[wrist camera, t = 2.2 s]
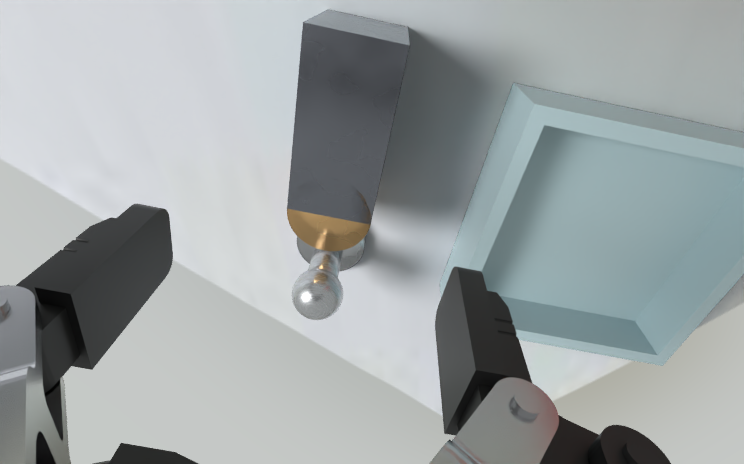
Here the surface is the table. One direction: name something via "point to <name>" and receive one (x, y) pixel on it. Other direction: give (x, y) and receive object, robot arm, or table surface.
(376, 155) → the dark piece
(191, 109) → the table surface
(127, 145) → the table surface
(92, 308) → the robot arm
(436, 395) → the table surface
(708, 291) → the bin
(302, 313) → the stud post
